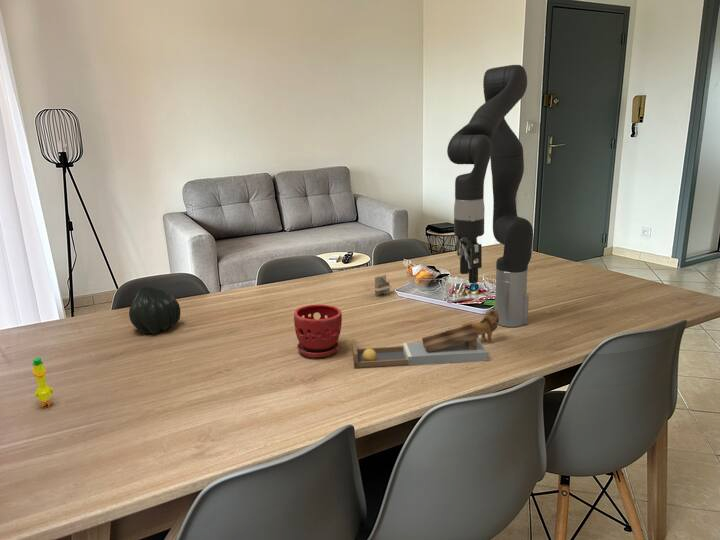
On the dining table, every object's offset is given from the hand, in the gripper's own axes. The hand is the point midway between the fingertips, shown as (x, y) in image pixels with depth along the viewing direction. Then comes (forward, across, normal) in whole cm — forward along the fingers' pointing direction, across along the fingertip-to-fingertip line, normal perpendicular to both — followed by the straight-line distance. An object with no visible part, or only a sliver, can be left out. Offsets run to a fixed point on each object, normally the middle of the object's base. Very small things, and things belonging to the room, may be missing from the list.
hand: (468, 278), depth 141 cm
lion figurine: (+22, -8, +5) cm, 24 cm away
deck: (+22, 0, -7) cm, 22 cm away
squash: (+21, -34, -92) cm, 100 cm away
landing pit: (+21, 0, -24) cm, 32 cm away
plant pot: (+21, -9, -40) cm, 46 cm away
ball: (+19, +1, -27) cm, 33 cm away
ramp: (+19, 0, -5) cm, 20 cm away
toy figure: (+20, +13, -104) cm, 107 cm away
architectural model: (+22, -57, -16) cm, 63 cm away
